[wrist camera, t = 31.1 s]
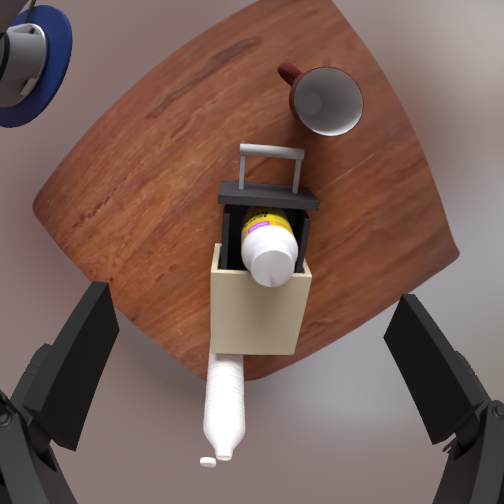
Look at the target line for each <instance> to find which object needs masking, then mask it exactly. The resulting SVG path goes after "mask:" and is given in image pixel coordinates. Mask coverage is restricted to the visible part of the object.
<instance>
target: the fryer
mask: <svg viewBox="0 0 504 504" xmlns="http://www.w3.org/2000/svg"><path fill="white" fill-rule="evenodd" d="M221 257H222V244H219V243H215V249H214V255H213V261H212V268H211V353H224V354H251V355H293V354H294V351H295V347H296V343H297V339H298V335H299V331H300V327H301V323H302V319H303V315H304V311H305V307H306V302H307V298H308V294H309V289H310V285H311V280H312V275H311V273H310V270H309V268H308V265H307V263H306V260H305V258H304V262H303V267H302V272H301V273H293V275H292V277H291V278H290V279H289V280H288V281H287V282H286V283H284V284H282V285H280V286H277V287H266V286H263V285H261V284H259V283H258V282H256V281H255V280H254V278H253V277H252V274H251V272H250V271H236V270H221Z"/></svg>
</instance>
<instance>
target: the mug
mask: <svg viewBox="0 0 504 504" xmlns="http://www.w3.org/2000/svg"><path fill="white" fill-rule="evenodd" d="M278 73H279V74H280V76H281V77H282V78H283V79H284V80H285V81H286V82H287V83H288V84H289V85H290V86H292V87H291V90H290V95H289V105H290V109H291V112H292V114H293V116H294V118H295V119H296V120H297V122H298V123H299V124H300V125H301V126H302V127H304V128H305V129H307V130H308V131H310V132H313V133H315V134H319V135H323V136H339V135H342V134H345V133H347V132H349V131H350V130H352V129H353V128H354V127H355V126H356V125H357V123H358V122H359V120H360V118H361V116H362V113H363V105H364V103H363V96H362V93H361V90H360V88H359V86H358V84H357V83H356V82H355V80H354V79H353V78H352V77H351V76H349V75H348V74H347V73H345V72H344V71H342V70H339V69H337V68H333V67H319V68H315V69H312V70H310V71H307V72H305V73H302V72H301V71H300V70H298V69H297V68H296V67H295V66H293V65H292V64H290V63H282V64H281V65H280V66H279V67H278Z"/></svg>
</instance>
